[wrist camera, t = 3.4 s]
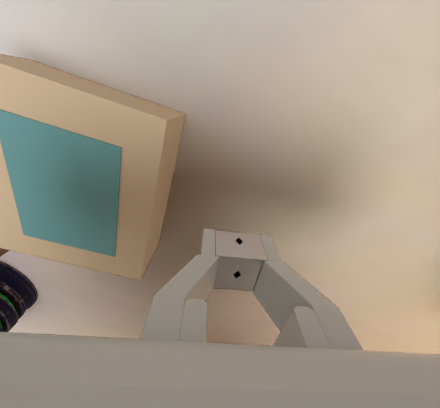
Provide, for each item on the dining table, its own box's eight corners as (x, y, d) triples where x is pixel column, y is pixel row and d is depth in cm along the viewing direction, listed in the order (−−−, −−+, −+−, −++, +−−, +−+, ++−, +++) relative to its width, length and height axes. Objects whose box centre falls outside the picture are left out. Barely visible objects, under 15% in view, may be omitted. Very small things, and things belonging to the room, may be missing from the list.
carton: (160, 238, 19) (139, 281, 14) (55, 211, 18) (-2, 248, 13) (186, 114, 13) (166, 120, 9) (36, 61, 12) (-75, 38, 8)
